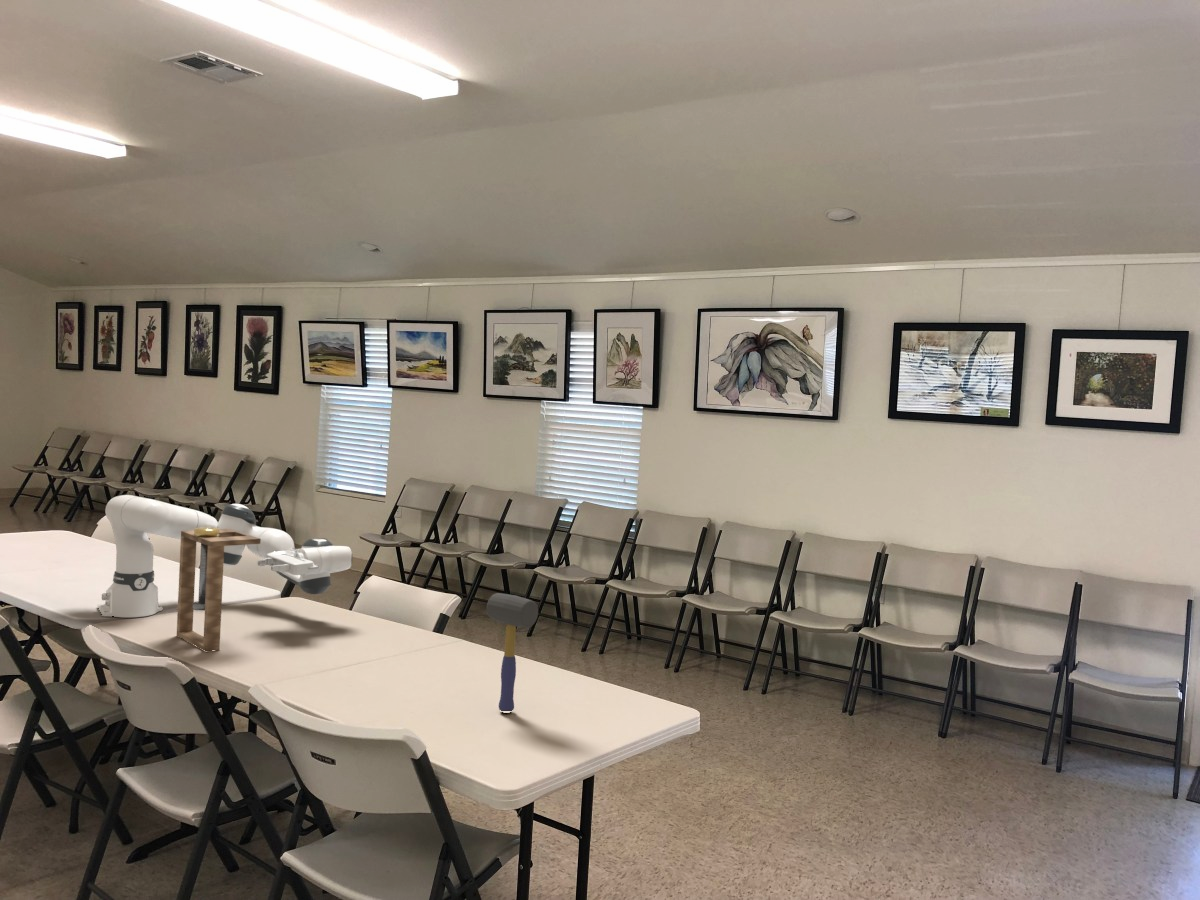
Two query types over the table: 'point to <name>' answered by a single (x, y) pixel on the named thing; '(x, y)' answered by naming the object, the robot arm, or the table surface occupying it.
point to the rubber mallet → (510, 636)
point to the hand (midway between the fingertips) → (265, 565)
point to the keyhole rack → (212, 585)
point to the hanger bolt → (203, 564)
